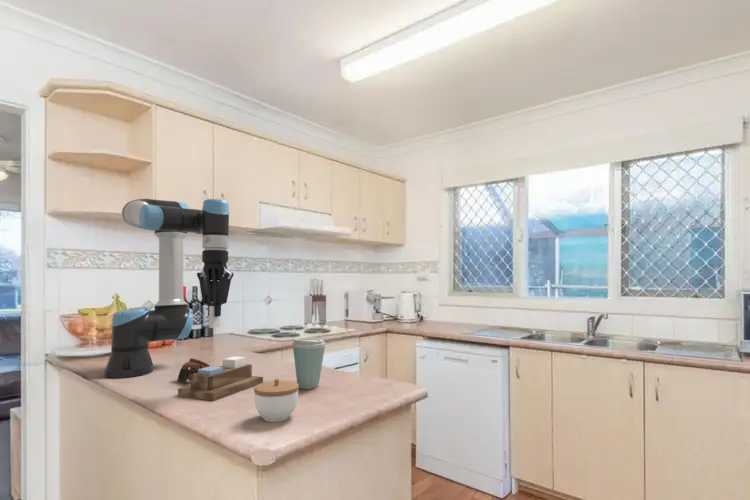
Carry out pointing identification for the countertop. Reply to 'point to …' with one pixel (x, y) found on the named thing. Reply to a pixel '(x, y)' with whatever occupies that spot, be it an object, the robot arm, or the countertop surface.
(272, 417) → the lidded jar
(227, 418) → the countertop surface
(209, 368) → the light blue block
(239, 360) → the white block
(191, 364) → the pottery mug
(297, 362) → the disposable coffee cup
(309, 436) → the countertop surface
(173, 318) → the robot arm
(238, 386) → the wooden stepped stand
